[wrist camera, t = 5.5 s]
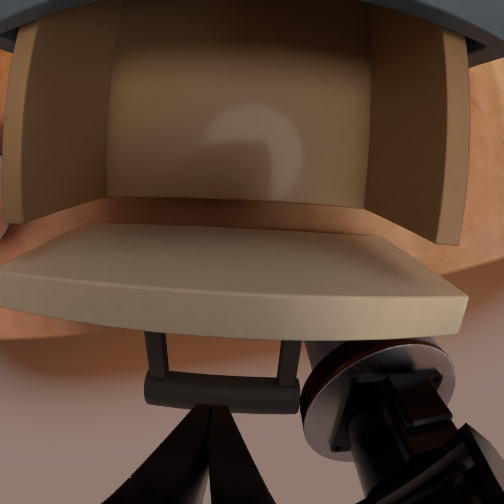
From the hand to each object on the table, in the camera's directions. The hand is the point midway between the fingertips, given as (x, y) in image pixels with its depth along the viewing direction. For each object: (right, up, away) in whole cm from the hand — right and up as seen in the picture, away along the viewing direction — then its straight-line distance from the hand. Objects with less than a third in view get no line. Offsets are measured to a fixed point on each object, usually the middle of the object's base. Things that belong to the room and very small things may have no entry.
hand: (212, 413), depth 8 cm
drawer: (0, +8, +5) cm, 9 cm away
